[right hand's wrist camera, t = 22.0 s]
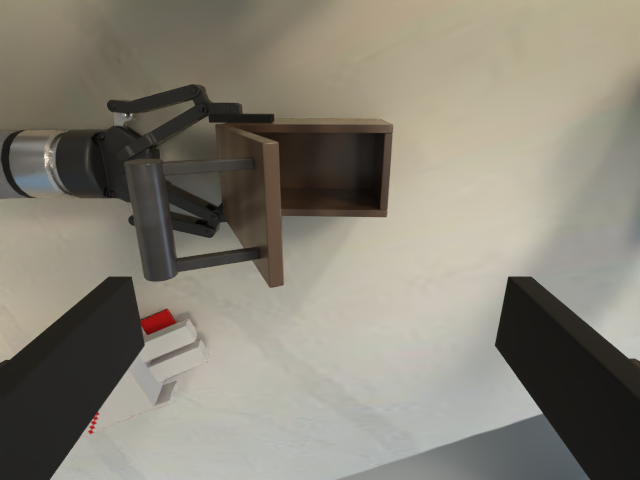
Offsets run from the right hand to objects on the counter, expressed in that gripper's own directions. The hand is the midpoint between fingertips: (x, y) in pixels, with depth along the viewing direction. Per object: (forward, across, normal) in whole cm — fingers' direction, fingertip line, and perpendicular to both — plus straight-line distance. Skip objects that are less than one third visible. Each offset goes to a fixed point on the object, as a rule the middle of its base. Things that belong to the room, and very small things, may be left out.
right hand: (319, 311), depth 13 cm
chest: (+37, -1, 0) cm, 37 cm away
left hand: (+31, -5, 0) cm, 32 cm away
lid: (+19, -6, 0) cm, 20 cm away
